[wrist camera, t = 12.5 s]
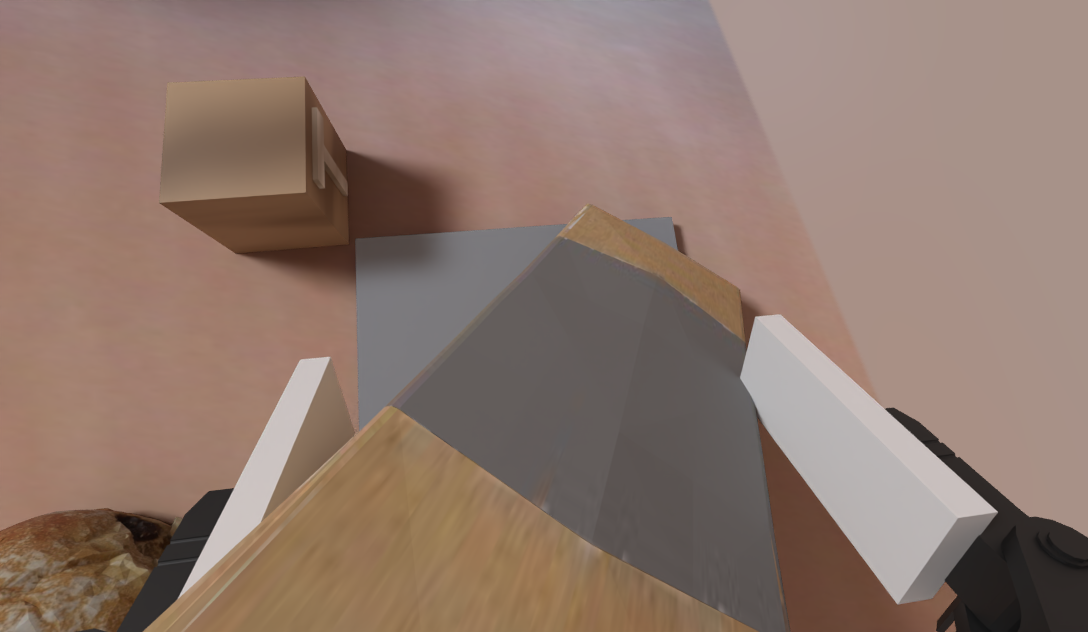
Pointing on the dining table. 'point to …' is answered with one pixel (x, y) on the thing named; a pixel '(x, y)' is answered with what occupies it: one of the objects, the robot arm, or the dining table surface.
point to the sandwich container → (537, 473)
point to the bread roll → (77, 569)
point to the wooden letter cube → (254, 164)
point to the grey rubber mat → (436, 295)
